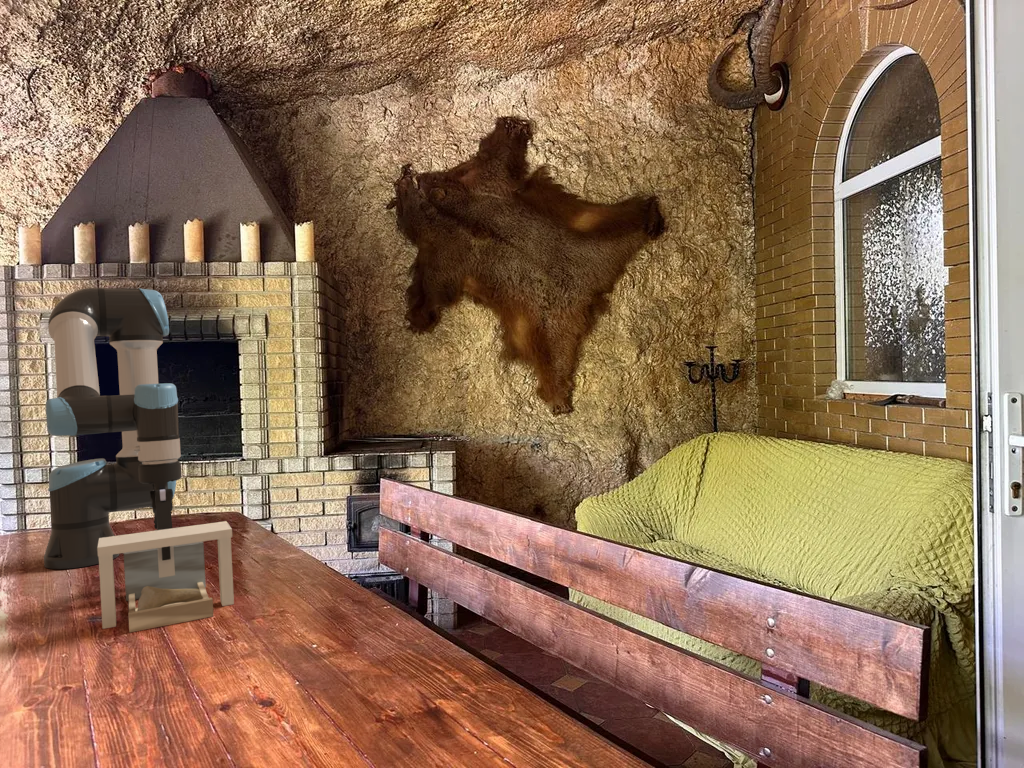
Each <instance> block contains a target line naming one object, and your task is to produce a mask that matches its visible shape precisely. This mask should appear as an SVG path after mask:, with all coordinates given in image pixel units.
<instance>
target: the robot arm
mask: <svg viewBox="0 0 1024 768" xmlns="http://www.w3.org/2000/svg"><path fill="white" fill-rule="evenodd" d="M47 324H48V325H47V327H48V334H49V336H50V338H51V339H52V340H53V341H54V357H55V359H54V363H55V378H56V380H55V382H56V397H53V398H49V399H47V400H46V401H45V413H46V414H45V415H46V416H45V418H46V431H47V433H48V434H49V435H50V436H53V437H54V436H55V437H58V436H65V437H66V436H70V437H74V436H82V435H83V436H84V435H95V434H105V433H120V432H121V440H122V442H121V443H122V449H121V450H120V451H118V453H117V454H116V455H115V459H116V461H115V462H114V463H108V461H107V460H106V459H105V458H103V457H102V458H94V459H88V460H87V459H86V460H82V461H76V462H72V463H68V464H64V465H61V466H58V467H56V468H54V469H52V470H51V471H50V472H49V475H48V489H47V491H48V492H49V507H50V508H49V509H50V529H51V531H50V532H51V533H50V535H49V540H48V543H47V545H46V548H45V552H44V556H43V565H44V568H47V569H50V570H51V569H52V570H65V569H75V568H76V569H77V568H83V567H84V568H85V567H90V566H94V565H99V557H98V550H97V547H98V541H99V538H104V537H111V536H115V534H114V532H113V530H112V527H111V525H110V516H109V515H110V513H115V512H122V511H123V512H124V511H130V510H139V509H147V508H150V509H152V513H153V514H154V519H153V526H154V528H155V529H154V531H156V530H164V529H171V528H173V521H172V520H173V519H172V511H173V499H174V497H175V492H176V486H177V481H179V480H181V478H182V464H181V462H180V460H178V459H180V458H181V457H182V456H181V455H182V454H181V440H180V439H181V438H180V432H179V431H180V430H179V429H180V428H179V408H178V407H179V405H178V402H179V398H178V392H177V386H176V385H175V384H174V383H159V368H158V366H159V365H158V354H157V351H158V349H159V348H160V346H161V345H162V344H163V343H164V340H163V339H164V338H163V337H166V336H169V334H170V326H169V324H170V323H169V317H168V312H167V307H166V303H165V300H164V297H163V295H162V294H161V293H160V292H159V291H157V290H155V289H148V288H147V289H146V288H140V287H139V288H125V287H124V288H123V287H122V288H116V287H115V288H114V287H112V288H111V287H110V288H109V287H85V288H82V289H79V290H75V291H74V292H72V293H70V294H68V295H67V296H65V297H63V298H62V299H60V301H59V302H58V303H57V304H56V305H55V307H54V308H53V309H52V311H51V312H50V314H49V318H48V322H47ZM96 337H108V338H109V345H110V346H111V347H113V348H114V349H115V350H116V352H117V353H116V355H117V366H118V367H117V368H118V370H117V371H118V385H119V394H118V395H101V393H100V392H101V391H100V386H99V385H100V384H99V376H98V364H97V357H96V345H95V339H96ZM157 549H158V568H159V578H162V577H168V576H174V575H175V565H174V546H168V547H161V548H157ZM119 556H120V553H119V554H113V560H115V559H116V558H118V557H119Z"/></svg>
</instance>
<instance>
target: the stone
mask: <svg viewBox="0 0 1024 768" xmlns="http://www.w3.org/2000/svg"><path fill="white" fill-rule="evenodd" d="M201 599H203V596H202V595H201V593H200V590H199V589H162V588H155V587H150V586H146V587H144V588H143V589H142V591H141V597H140V598H139V599H138V601H137V608H138V610H137V611H140V610H146V609H151V608H157V607H161V606H164V605H168V604H173V603H181V602H190V601H195V600H201Z"/></svg>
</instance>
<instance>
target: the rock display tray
mask: <svg viewBox="0 0 1024 768" xmlns="http://www.w3.org/2000/svg"><path fill="white" fill-rule="evenodd" d="M204 544H205V543H204V541H202V542H195V543H189V544H182V545H175V546H174V565H175V575H174V576H168V577H162V578H159V568H158V549H157V548H154V549H147V550H140V551H133V552H126V553H123V566H124V570H123V571H124V587H125V601H126V602H128V615H127V616H128V630H129V633H133V632H134V633H136V632H138V631H143V630H144V631H145V630H149V629H154V628H160V627H165V626H169V625H176V624H179V623H185V622H190V621H196V620H200V619H201V620H202V619H206V618H211V617H214V601H213V597H209V595H208V592H207V589H206V586H207V585H206V584H207V583H206V567H205V566H206V565H205V548H204V546H205V545H204ZM146 586H150V587H155V588H162V589H199V590H200V593H201V595H202V596H203V599H201V600H195V601H190V602H181V603H173V604H168V605H164V606H161V607H157V608H151V609H146V610H140V611H137V610H138V607H136V600H139V598H140V597H141V591H142V589H143V588H144V587H146Z"/></svg>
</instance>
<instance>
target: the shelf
mask: <svg viewBox="0 0 1024 768" xmlns="http://www.w3.org/2000/svg"><path fill="white" fill-rule="evenodd" d="M155 530H156V531H155ZM155 530H150V531H141V532H135V533H128V534H120V535H114V536H111V537H104V538H99V541H98V547H97V550H98V557H99V564H98V571H99V572H98V573H99V588H100V591H99V592H100V604H101V605H100V609H101V626H102V628H101V629H103V630H104V629H109V628H114V627H117V613H116V611H117V610H116V609H117V607H116V590H115V588H116V587H115V574H114V571H115V570H114V559H113V554H119V555H120V554H124V553H126V552H133V551H140V550H147V549H154V548H161V547H168V546H175V545H182V544H189V543H195V542H202V541H203V542H208V541H209V542H210V541H216V540H217V541H216V543H217V558H218V560H217V561H218V579H219V581H218V582H219V596H220V597H219V599H220V604H221V606H222V607H227V606H232V605H235V598H234V593H235V592H234V578H233V577H234V575H233V556H232V539H231V538H233V528H232V527H231V526H230V524H229V522H227V521H226V520H224V521H218V522H210V523H203V524H196V525H195V524H194V525H188V526H180V527H179V526H178V527H172V528H171V529H164V530H157V529H155Z"/></svg>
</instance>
